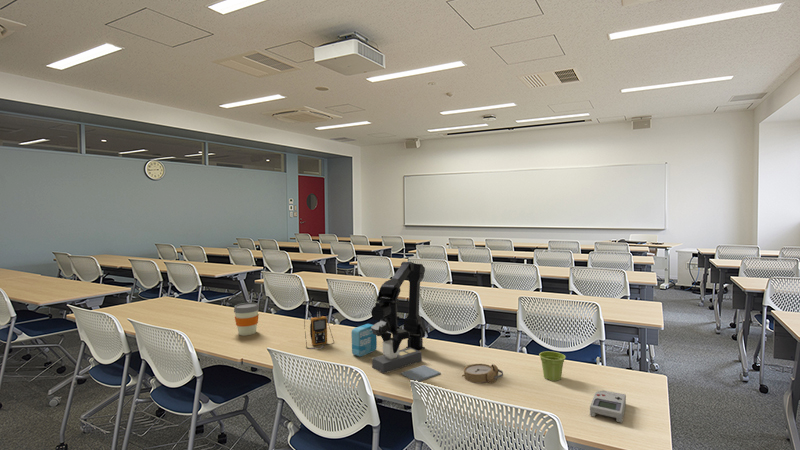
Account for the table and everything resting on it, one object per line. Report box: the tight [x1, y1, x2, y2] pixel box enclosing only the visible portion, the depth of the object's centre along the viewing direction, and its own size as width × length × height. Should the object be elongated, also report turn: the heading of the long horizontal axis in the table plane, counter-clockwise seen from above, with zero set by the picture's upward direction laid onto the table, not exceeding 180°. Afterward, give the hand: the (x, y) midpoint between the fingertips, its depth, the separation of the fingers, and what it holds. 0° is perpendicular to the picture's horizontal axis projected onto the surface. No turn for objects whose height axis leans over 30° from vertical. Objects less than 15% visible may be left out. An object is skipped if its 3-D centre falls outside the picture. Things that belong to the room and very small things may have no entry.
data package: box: [350, 323, 378, 357], centre depth 190 cm, size 12×4×12 cm, turn 142°
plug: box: [382, 340, 400, 359], centre depth 173 cm, size 5×5×9 cm
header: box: [371, 347, 423, 374], centre depth 175 cm, size 20×8×4 cm, turn 127°
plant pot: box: [538, 351, 566, 382], centre depth 158 cm, size 9×9×9 cm
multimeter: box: [303, 302, 335, 350], centre depth 200 cm, size 15×10×20 cm
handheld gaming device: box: [589, 390, 627, 424], centre depth 133 cm, size 9×15×4 cm, turn 147°
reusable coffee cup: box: [233, 302, 260, 336], centre depth 224 cm, size 13×12×15 cm
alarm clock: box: [461, 363, 504, 384], centre depth 160 cm, size 11×5×15 cm
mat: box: [400, 364, 441, 382], centre depth 165 cm, size 12×10×1 cm
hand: (391, 351), depth 173 cm, fingers closed on plug, 5 cm apart
